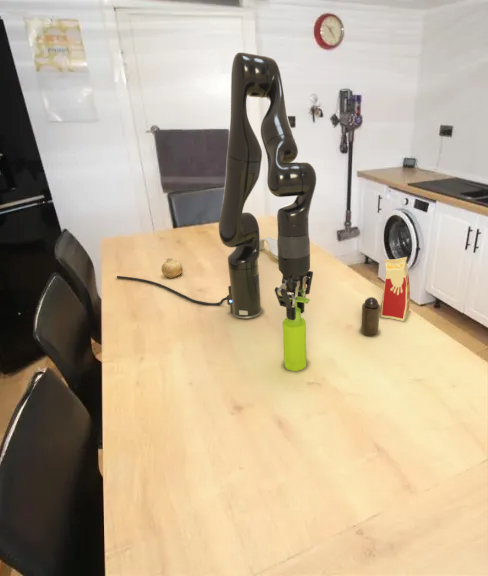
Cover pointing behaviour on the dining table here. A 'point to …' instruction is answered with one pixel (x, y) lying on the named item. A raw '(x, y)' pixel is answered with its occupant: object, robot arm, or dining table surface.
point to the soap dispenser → (295, 339)
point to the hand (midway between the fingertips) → (295, 315)
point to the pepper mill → (370, 317)
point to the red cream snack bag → (396, 290)
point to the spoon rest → (270, 246)
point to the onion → (171, 268)
